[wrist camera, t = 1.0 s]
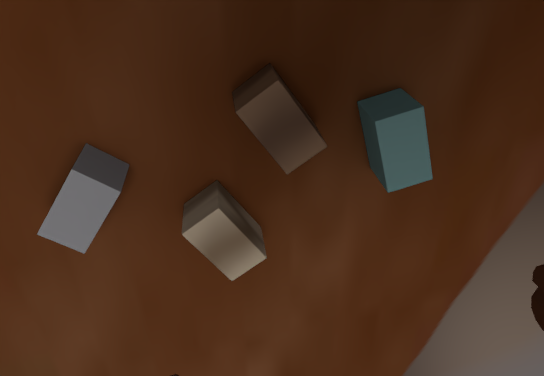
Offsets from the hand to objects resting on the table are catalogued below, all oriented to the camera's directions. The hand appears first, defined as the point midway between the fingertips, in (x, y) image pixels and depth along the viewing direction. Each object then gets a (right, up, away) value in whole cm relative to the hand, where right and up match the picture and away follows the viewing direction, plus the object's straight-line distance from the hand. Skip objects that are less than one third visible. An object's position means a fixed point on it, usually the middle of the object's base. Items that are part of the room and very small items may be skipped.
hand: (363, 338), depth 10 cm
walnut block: (-2, +9, +26) cm, 27 cm away
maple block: (-6, +1, +30) cm, 30 cm away
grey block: (-16, +4, +27) cm, 31 cm away
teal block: (+7, +8, +28) cm, 30 cm away
